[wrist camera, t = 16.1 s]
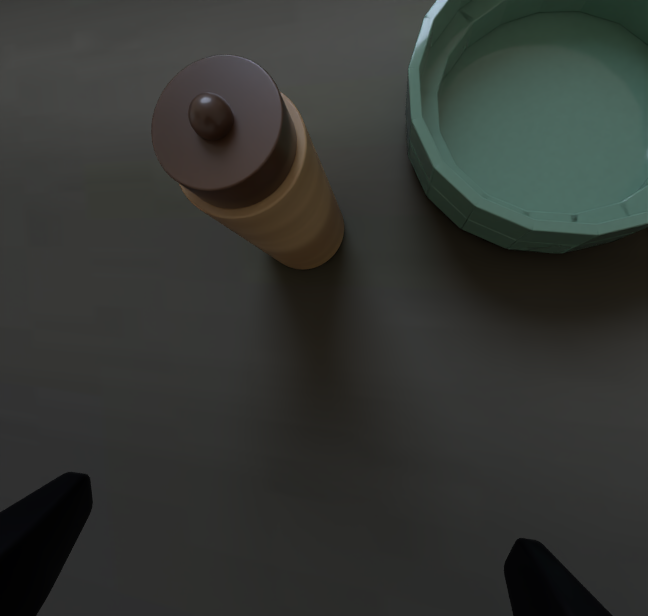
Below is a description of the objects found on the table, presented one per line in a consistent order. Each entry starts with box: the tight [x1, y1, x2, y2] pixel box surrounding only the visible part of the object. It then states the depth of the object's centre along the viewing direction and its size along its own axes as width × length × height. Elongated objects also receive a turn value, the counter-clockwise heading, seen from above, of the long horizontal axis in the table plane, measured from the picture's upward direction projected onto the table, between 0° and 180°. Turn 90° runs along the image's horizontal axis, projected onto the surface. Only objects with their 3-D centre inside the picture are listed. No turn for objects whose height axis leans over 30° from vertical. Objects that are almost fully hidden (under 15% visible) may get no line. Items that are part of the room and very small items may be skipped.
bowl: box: [405, 0, 648, 254], centre depth 18 cm, size 14×14×4 cm
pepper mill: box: [151, 55, 344, 270], centre depth 16 cm, size 5×5×12 cm
